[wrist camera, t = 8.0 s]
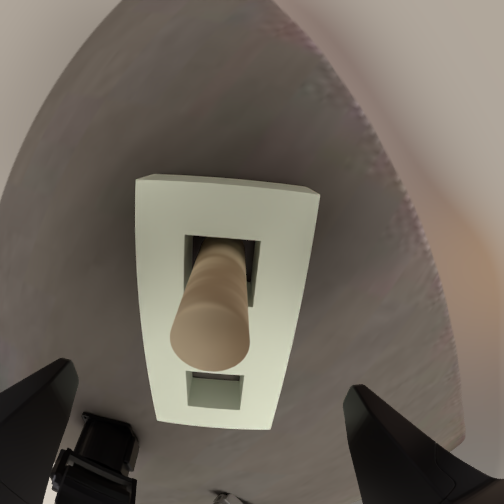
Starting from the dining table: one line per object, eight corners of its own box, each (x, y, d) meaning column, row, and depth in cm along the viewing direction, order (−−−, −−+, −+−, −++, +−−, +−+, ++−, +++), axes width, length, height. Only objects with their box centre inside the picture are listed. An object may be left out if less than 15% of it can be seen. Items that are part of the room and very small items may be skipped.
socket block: (267, 401, 25) (270, 429, 22) (163, 393, 24) (157, 420, 21) (306, 186, 18) (320, 194, 15) (153, 173, 18) (135, 179, 14)
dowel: (200, 269, 20) (172, 367, 11) (202, 228, 19) (168, 304, 10) (242, 273, 20) (246, 374, 11) (246, 232, 19) (254, 312, 10)
